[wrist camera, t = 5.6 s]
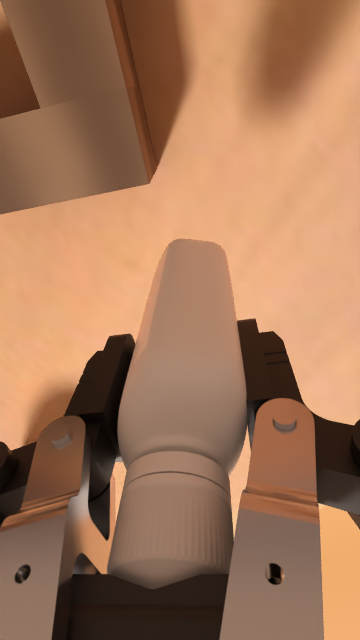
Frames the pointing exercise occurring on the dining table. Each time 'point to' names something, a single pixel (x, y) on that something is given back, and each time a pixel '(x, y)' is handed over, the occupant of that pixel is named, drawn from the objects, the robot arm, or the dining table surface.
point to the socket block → (73, 106)
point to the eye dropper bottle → (181, 424)
